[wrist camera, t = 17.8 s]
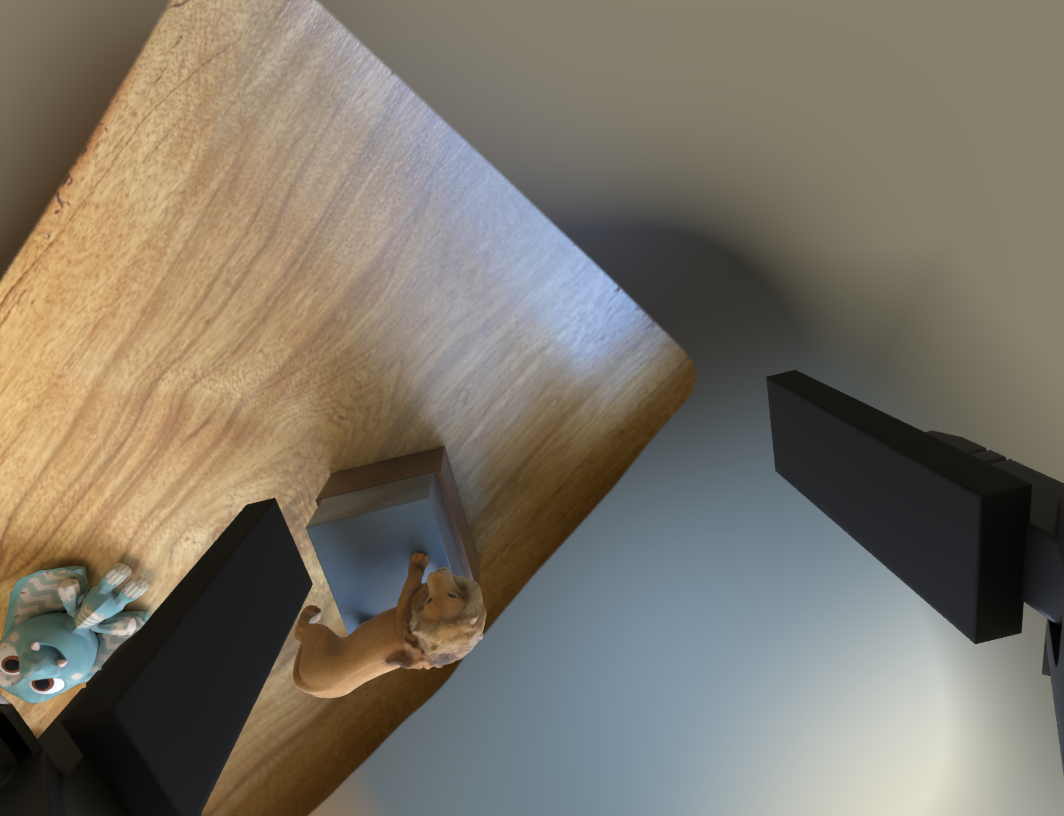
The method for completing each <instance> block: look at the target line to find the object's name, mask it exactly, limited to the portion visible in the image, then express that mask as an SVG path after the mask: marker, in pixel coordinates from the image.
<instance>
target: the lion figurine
mask: <svg viewBox="0 0 1064 816" xmlns="http://www.w3.org/2000/svg"><path fill="white" fill-rule="evenodd" d="M428 565H429V559H428V555H426V554H424V553H418V552H415V553H413V555H412V557H411V560H410V563H409V566H408V577H407V579H406V582H405V584H404V586H403V589H402V592H401V595H400V597H399V599H398V606H397V607H394V608H391V609H389V610H386V611H384V612H382V613H380V614H378V615H376V616H374V617H373V618H371V619H369V620H368V621H365V622H363V623H361V624H360V625H359V626H358V627H357V628H356V629H355V630H354V631H353V632H352V633H351V634H350V635H348V636H347V637H344V638H340V637H339V636H337V635H336V634H335V633H334V632H333V631H332V630H330V629H329V628H328V627H326V626H325V625H322V624H314V622H316V621H317V620H319V619H320V617H321V609H319V608H318V607H317V606H314V605H309V606H307V607H306V608H305V609H304V610H303V611H302V613H301V615H300V618H299V620H298V624H297V627H296V629H295V638H296V639H297V640H300V641H301V643H302V645H301V646H300V649H299V650H298V653H297V656H296V659H295V663H294V669H293V678H294V682H295V684H296V686H297V687H298V688H299V689H300V690H302V691H303V692H306V693H310V694H313V695H314V696H316V697H321V698H334V697H340V696H343V695H346V694H348V693H349V692H351V691H352V690H354V689H355V688H357V687H358V686H360V685H361V684H363V683H365V682H366V681H368V680H370V679H372V678H375V677H377V676H379V675H381V674H384V673H386V672H389V671H391V670H394V669H396V668H398V667H403V668H406V669H411V668H416V669H421V668H423V667H424V668H426V669H430V668H431V667H432V666H435V667H437V668H440V667H442V666H443V665H444V664H450V663H452V662H454V661H456V660H460V659H462V658H463V657H465V656H466V654H467V653H469V652H470V651H472V649H473V647H474V646H475V645H476V644H477V643H478V641H479V640H482V638H483V632H482V631H483V627H484V624H485V619H486V613H487V611H486V609H485V607H484V605H483V599H482V593H481V589H480V587H479V585H478V583H477V582H476V581H475V580H472V579H468V578H467V577H462V576H453V574H452V572H451V571H450V569H449V568H447V567H441V568H438V569H437V570H436V572H431V573H429V575H428V577H427V582H426V583H423V584H422V578H423V575H424V570H425V569H426V568H427V566H428Z"/></svg>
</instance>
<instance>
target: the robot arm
mask: <svg viewBox="0 0 1064 816" xmlns="http://www.w3.org/2000/svg"><path fill="white" fill-rule="evenodd" d="M766 378H767V389H768V398H769V409H770V420H771V430H772V439H773V450H774V460H775V471H776V472H777V473H779V474H780V475H781V476H782V477H783V478H784V479H785V480H787V481H788V482H789V483H790V484H791V485H792V486H794V487H795V488H796V489H798V491H799V492H800V493H802V494H803V495H804V496H805V497H806V498H807V499H809V500H810V501H811V502H812V503H813V504H814V505H815V506H817V507H818V508H819V509H820V510H821V511H822V512H824V513H825V514H826V515H827V516H828V517H829V518H831V519H832V520H833V521H834V522H835V523H836V524H837V525H839V526H840V527H841V528H842V529H843V530H844V531H846V532H847V533H848V534H849V535H850V536H851V537H852V538H853V539H855V540H856V541H857V542H858V543H859V544H860V545H862V546H863V547H864V548H865V549H866V550H867V551H868V552H870V553H871V554H872V555H873V556H874V557H875V558H877V559H878V560H879V561H880V562H881V563H882V564H883V565H885V566H886V567H887V568H888V569H889V570H890V571H891V572H893V573H894V574H895V575H896V576H897V577H898V578H900V579H901V580H902V581H903V582H904V583H906V585H908V586H909V587H910V588H911V589H912V590H914V591H915V592H916V593H917V594H918V595H919V596H920V597H922V598H923V599H924V600H925V601H926V602H927V603H928V604H930V605H931V606H932V607H933V608H934V609H935V610H936V611H938V612H939V613H940V614H941V615H942V616H943V617H944V618H946V619H947V620H948V621H949V622H950V623H952V624H953V625H954V626H955V627H956V628H957V629H958V630H959V631H961V632H962V633H963V634H964V635H965V636H966V637H968V638H969V639H970V640H971V641H972V642H973V643H974V644H978V643H982V642H987V641H991V640H995V639H999V638H1003V637H1007V636H1011V635H1015V634H1019V633H1021V631H1022V618H1023V605H1024V602H1025V603H1027V604H1028V605H1030V606H1031V607H1032V608H1034V609H1035V610H1037V611H1038V612H1039V613H1041V614H1042V615H1044V616H1045V617H1046V618H1047V624H1046V635H1045V646H1044V657H1043V667H1042V674H1044V675H1048V676H1051V683H1052V690H1053V697H1054V705H1055V713H1056V721H1057V728H1058V735H1059V743H1060V750H1061V757H1062V766H1063V773H1064V483H1062V482H1059V481H1057V480H1055V479H1053V478H1051V477H1048V476H1046V475H1044V474H1042V473H1040V472H1037V471H1035V470H1033V469H1031V468H1028V467H1026V466H1024V465H1022V464H1019V463H1018V462H1015V461H1013V460H1011V459H1009V460H1006V458H1005V457H1004V456H1002V455H1000V454H998V453H996V452H993V451H991V450H989V451H987V450H986V448H985V447H982V446H980V445H978V444H976V443H974V442H971V441H969V440H967V439H965V438H963V437H959V436H954V435H949V434H945V433H941V432H936V431H929V432H923V431H921V430H919V429H917V428H915V427H912V426H911V425H909V424H906V423H904V422H902V421H900V420H898V419H896V418H894V417H892V416H890V415H888V414H886V413H884V412H881V411H879V410H877V409H875V408H873V407H871V406H869V405H867V404H865V403H863V402H861V401H859V400H857V399H855V398H853V397H850V396H848V395H846V394H844V393H842V392H840V391H838V390H836V389H834V388H832V387H830V386H828V385H826V384H823V383H821V382H819V381H817V380H815V379H813V378H811V377H809V376H807V375H805V374H803V373H801V372H799V371H797V370H792V371H788V372H784V373H780V374H776V375H773V376H768V377H766ZM312 585H313V583H312V581H311V579H310V576H309V574H308V572H307V570H306V567H305V565H304V563H303V560H302V558H301V556H300V554H299V551H298V549H297V547H296V544H295V542H294V540H293V538H292V535H291V533H290V531H289V528H288V526H287V524H286V521H285V519H284V517H283V515H282V512H281V510H280V508H279V505H278V503H277V501H276V499H275V498H272V499H268V500H264V501H260V502H256V503H252V504H248V505H246V506H245V507H244V508H243V510H242V511H241V512H240V513H239V514H238V515H237V517H236V518H235V519H234V520H233V521H232V522H231V524H230V525H229V526H228V527H227V528H226V529H225V531H224V532H223V533H222V534H221V535H220V536H219V538H218V539H217V540H216V541H215V542H214V543H213V545H212V546H211V547H210V548H209V549H208V550H207V552H206V553H205V554H204V555H203V556H202V557H201V558H200V560H199V561H198V562H197V563H196V564H195V565H194V567H193V568H192V569H191V570H190V571H189V572H188V574H187V575H186V576H185V577H184V578H183V579H182V581H181V582H180V583H179V584H178V585H177V586H176V588H175V589H174V590H173V591H172V592H171V593H170V595H169V596H168V597H167V598H166V599H165V600H164V602H163V603H162V604H161V605H160V606H159V607H158V609H157V610H156V611H155V612H154V613H153V614H152V616H151V617H150V618H149V619H148V620H147V621H146V623H145V624H144V625H143V626H142V627H141V628H140V629H139V630H138V631H137V632H136V633H134V634H133V635H132V636H131V637H129V638H128V639H127V640H126V641H124V642H123V643H122V644H121V645H119V647H118V648H117V649H116V650H115V651H114V652H113V653H112V655H111V656H110V657H109V658H108V659H107V660H106V661H105V663H104V664H103V665H102V666H101V670H98V671H97V672H96V673H95V674H94V675H93V676H92V677H91V679H90V680H89V681H88V682H87V683H86V688H82V689H81V690H80V691H79V692H78V693H77V695H76V696H75V697H74V698H73V699H72V700H71V701H70V703H69V704H68V705H67V706H66V707H65V708H64V709H63V711H62V712H61V713H60V714H59V715H58V716H57V718H56V719H55V720H54V721H53V722H52V723H51V724H50V726H49V727H48V728H47V729H46V730H45V731H44V732H43V734H42V735H41V736H40V737H39V738H38V739H37V738H36V737H35V735H34V734H33V733H32V731H31V730H30V728H29V727H28V726H27V724H26V723H25V721H24V720H23V719H22V717H21V716H20V714H19V713H18V712H17V710H16V709H15V708H14V706H13V705H12V704H0V816H200V815H201V813H202V811H203V809H204V807H205V805H206V803H207V801H208V799H209V796H210V794H211V792H212V790H213V788H214V786H215V784H216V782H217V780H218V778H219V776H220V774H221V772H222V770H223V768H224V766H225V764H226V762H227V760H228V757H229V755H230V753H231V751H232V749H233V747H234V745H235V743H236V741H237V739H238V737H239V735H240V733H241V731H242V729H243V727H244V725H245V723H246V720H247V718H248V716H249V714H250V712H251V710H252V708H253V706H254V704H255V702H256V700H257V698H258V696H259V694H260V692H261V690H262V688H263V686H264V684H265V681H266V679H267V677H268V675H269V673H270V671H271V669H272V667H273V665H274V663H275V661H276V659H277V657H278V655H279V653H280V651H281V649H282V647H283V644H284V642H285V640H286V638H287V636H288V634H289V632H290V630H291V628H292V626H293V624H294V622H295V620H296V618H297V616H298V614H299V612H300V610H301V608H302V605H303V603H304V601H305V599H306V597H307V595H308V593H309V591H310V589H311V587H312Z"/></svg>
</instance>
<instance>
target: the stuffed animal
mask: <svg viewBox="0 0 1064 816" xmlns="http://www.w3.org/2000/svg"><path fill="white" fill-rule="evenodd" d="M131 572H132V570H131V569H130V568H129V567H128V566H127V565H125V564H122V563H117V564H114V565H113V566H112V567H111V568H110V569H109V570H108V571H107V572H106V573H105V574H104V575H103V576H102V578H101V580H100V582H99V584H98V585H97V586H95V587H93V588H92V589H91V590H90V592H89V593H88V595H87V596H86V598H85V599H84V601H83V603H82V605H81V606H80V607H78V605H79V603H80V602H81V601H82V599H83V598H84V596H85V595H86V594H87V592H88V585H87V576H86V567H82V566H70V567H63V568H55V569H48V570H41V571H37V572H35V573H33V574H30V575H28V576H26V577H24V578H21V579H19V580H18V581H17V582H16V584H15V586H14V588H13V590H12V592H11V593H10V599H9V605H8V611H7V616H6V621H5V626H4V631H3V636H2V640H1V642H0V687H2V688H3V689H4V690H6V691H7V692H8V693H10V694H12V695H15V696H17V697H19V698H20V699H22V700H24V701H25V702H29V703H40V702H45V701H47V700H49V699H51V698H53V697H55V696H57V695H59V694H61V693H63V692H65V691H66V690H68V689H70V688H72V687H73V686H74V685H77V684H80V683H83V682H87V681H89V680H90V679H91V677H92V676H93V675H94V674H95V673H96V672H97V671H98V670H101V666H102V665H103V664H104V663H105V661H106V660H107V659H108V658H109V657H110V656H111V655H112V653H113V652H114V651H115V650H116V649H117V648H118V647H119V645H121V644H122V643H123V642H124V641H126V640H127V639H128V638H129V637H131V636H132V635H133V634H134V633H136V632H137V631H138V630H139V629H140V628H141V627H142V626H143V625H144V624H145V623H146V621H147V620H148V619H149V618H150V615H149V613H148V611H128V612H119V611H121V610H123V608H124V606H125V605H126V604H127V603H129V602H131V601H133V600H135V599H137V598H138V597H140V596H141V595H142V594H143V593H144V592H145V591H146V590H147V589H148V587H149V583H148V581H147V580H146V579H145V578H143V577H141V576H139V575H137V576H134V577H132V578H131V579H130V580H129V581H128V582H127V583H126V584H125V586H124V587H123V588H122V590H121V591H120V592H119V591H118V590H117V589H115V587H117V586H118V585H120V584H121V583H122V582H124V581H125V580H126V579H127V578H128V577H130V576H131ZM66 609H67V613H61V612H60V611H63V610H66ZM111 616H112V617H111ZM109 617H110V618H109ZM107 618H109V619H107ZM105 619H107V620H105ZM103 620H105V621H104V622H103V623H102V621H103ZM95 632H100V633H99V636H98V638H97V636H96V634H95Z"/></svg>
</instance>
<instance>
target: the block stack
mask: <svg viewBox="0 0 1064 816" xmlns="http://www.w3.org/2000/svg"><path fill="white" fill-rule="evenodd" d="M316 503H317V506H318V508H317V509H316V511H315V513H314V515H313V516H312V518H311V520H310V521H309V523H308V525H307V526H306V530H307V532H308V535H309V537H310V539H311V542H312V544H313V547H314V549H315V552H316V554H317V557H318V559H319V562H320V564H321V567H322V569H323V572H324V574H325V577H326V579H327V582H328V584H329V587H330V589H331V592H332V594H333V597H334V599H335V602H336V604H337V607H338V609H339V612H340V614H341V617H342V619H343V622H344V624H345V627H346V629H347V632H348V634H349V635H350V634H351V633H352V632H353V631H354V630H355V629H356V628H357V627H358V626H359V625H360V624H361V623H363V622H365V621H368V620H369V619H371V618H373V617H374V616H376V615H378V614H380V613H382V612H384V611H386V610H389V609H391V608H394V607H397V606H398V599H399V597H400V595H401V592H402V589H403V586H404V584H405V582H406V579H407V577H408V566H409V563H410V560H411V557H412V555H413V553H415V552H418V553H424V554H426V555H428V559H429V565H428V566H427V568H426V569H425V570H424V575H423V578H422V584H423V583H426V582H427V577H428V575H429V573H431V572H436V570H437V569H438V568H441V567H447V568H449V569H450V571H451V572H452V574H453V576H462V577H467V578H468V579H472V580H475V581H476V582H477V583H478V585H479V562H478V558H477V555H476V551H475V548H474V545H473V541H472V538H471V534H470V531H469V527H468V524H467V521H466V517H465V514H464V510H463V507H462V504H461V500H460V497H459V493H458V490H457V487H456V483H455V480H454V476H453V473H452V470H451V466H450V463H449V459H448V456H447V453H446V449H445V447H441V448H437V449H433V450H429V451H424V452H420V453H416V454H412V455H408V456H404V457H399V458H395V459H391V460H387V461H383V462H379V463H374V464H370V465H366V466H362V467H358V468H354V469H350V470H345V471H341V472H337V473H333V474H331V476H330V477H329V479H328V481H327V482H326V484H325V486H324V487H323V489H322V490H321V492H320V494H319V495H318V497H317V499H316Z"/></svg>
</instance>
